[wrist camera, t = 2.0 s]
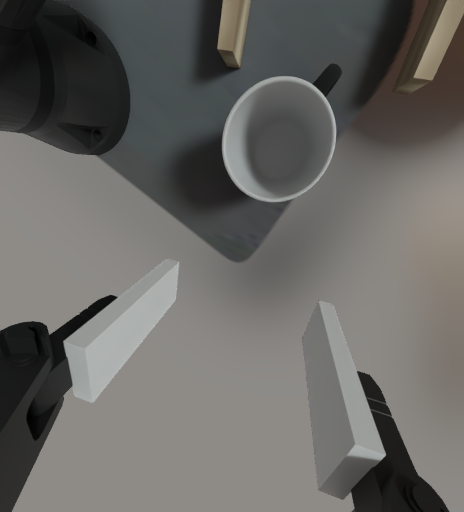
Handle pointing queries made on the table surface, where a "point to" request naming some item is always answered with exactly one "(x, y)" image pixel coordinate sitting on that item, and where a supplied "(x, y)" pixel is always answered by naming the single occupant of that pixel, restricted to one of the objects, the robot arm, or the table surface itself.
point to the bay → (416, 63)
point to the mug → (281, 136)
